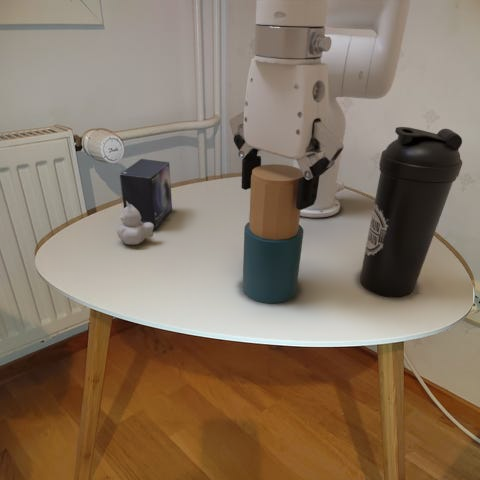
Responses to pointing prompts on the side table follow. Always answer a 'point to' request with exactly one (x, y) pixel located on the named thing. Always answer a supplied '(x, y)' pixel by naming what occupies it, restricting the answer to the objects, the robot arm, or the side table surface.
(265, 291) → the teal bottle
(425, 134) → the water bottle
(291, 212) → the light brown faceted cylinder
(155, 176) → the small box
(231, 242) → the side table surface
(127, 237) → the rubber duck
